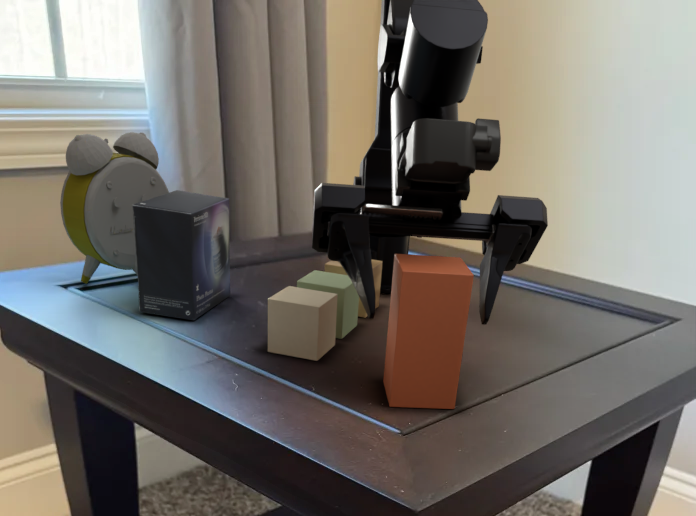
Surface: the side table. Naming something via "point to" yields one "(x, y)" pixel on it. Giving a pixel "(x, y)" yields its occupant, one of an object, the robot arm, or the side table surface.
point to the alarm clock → (107, 197)
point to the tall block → (426, 330)
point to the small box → (182, 253)
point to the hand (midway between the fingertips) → (429, 319)
